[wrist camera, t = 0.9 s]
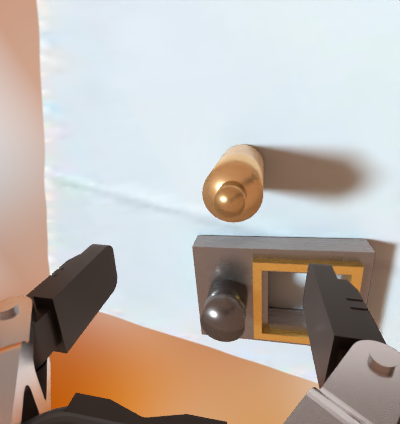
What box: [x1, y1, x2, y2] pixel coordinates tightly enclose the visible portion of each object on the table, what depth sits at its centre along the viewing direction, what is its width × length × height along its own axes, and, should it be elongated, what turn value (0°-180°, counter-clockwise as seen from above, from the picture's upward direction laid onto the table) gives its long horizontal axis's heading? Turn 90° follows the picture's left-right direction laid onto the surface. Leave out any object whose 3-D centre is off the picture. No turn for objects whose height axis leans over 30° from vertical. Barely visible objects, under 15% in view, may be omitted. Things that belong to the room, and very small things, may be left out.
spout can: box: [202, 145, 264, 222], centre depth 27 cm, size 5×5×12 cm
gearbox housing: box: [192, 236, 375, 346], centre depth 33 cm, size 20×14×8 cm
